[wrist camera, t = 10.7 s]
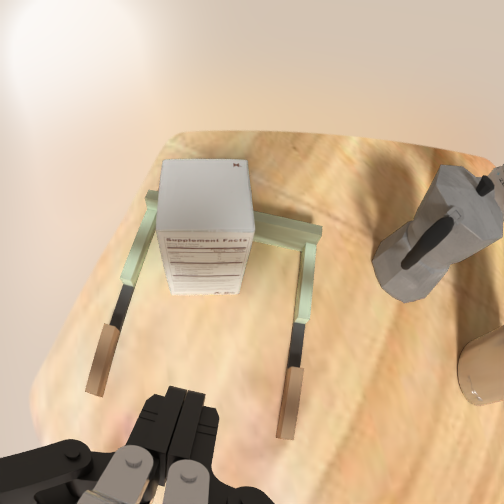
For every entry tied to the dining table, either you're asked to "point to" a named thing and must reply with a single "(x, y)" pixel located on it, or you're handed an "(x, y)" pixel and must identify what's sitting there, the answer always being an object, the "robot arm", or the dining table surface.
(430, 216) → the coffeepot
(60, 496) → the robot arm
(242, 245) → the supplement box
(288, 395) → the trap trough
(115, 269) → the dining table surface
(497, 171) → the energy drink can
